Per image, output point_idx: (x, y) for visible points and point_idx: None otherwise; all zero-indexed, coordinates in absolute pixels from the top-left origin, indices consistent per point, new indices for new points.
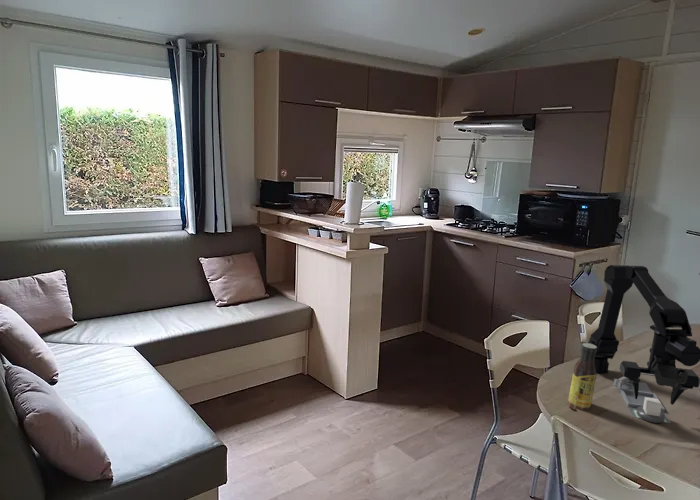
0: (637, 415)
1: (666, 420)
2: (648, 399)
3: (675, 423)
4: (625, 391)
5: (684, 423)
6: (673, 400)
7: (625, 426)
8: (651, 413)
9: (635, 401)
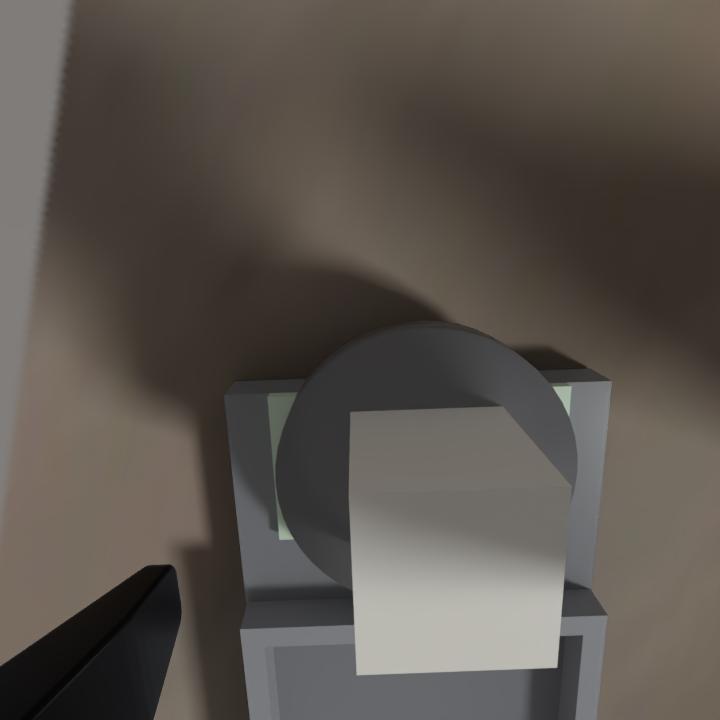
0: None
1: (262, 437)
2: (526, 605)
3: (173, 470)
4: None
5: (90, 500)
6: (119, 616)
7: (702, 223)
8: (450, 415)
9: (476, 708)
